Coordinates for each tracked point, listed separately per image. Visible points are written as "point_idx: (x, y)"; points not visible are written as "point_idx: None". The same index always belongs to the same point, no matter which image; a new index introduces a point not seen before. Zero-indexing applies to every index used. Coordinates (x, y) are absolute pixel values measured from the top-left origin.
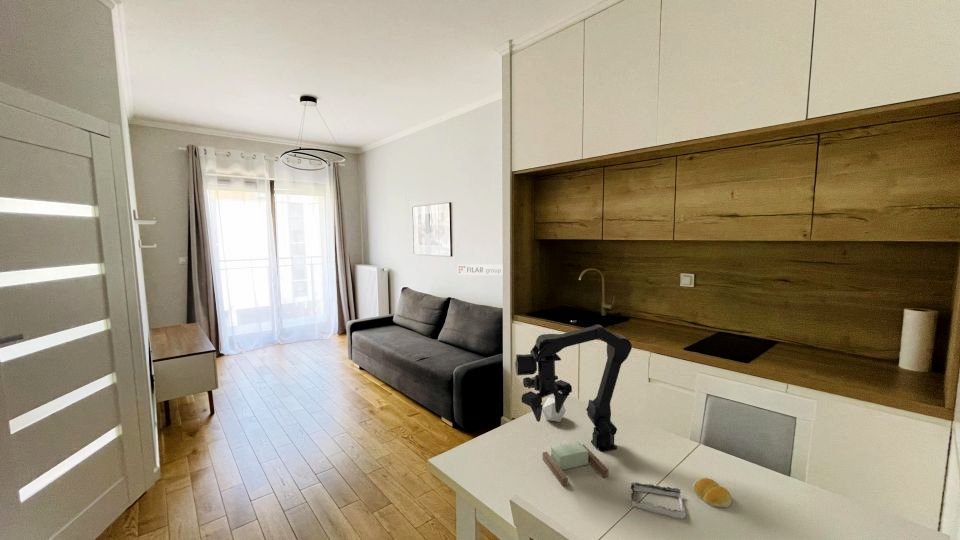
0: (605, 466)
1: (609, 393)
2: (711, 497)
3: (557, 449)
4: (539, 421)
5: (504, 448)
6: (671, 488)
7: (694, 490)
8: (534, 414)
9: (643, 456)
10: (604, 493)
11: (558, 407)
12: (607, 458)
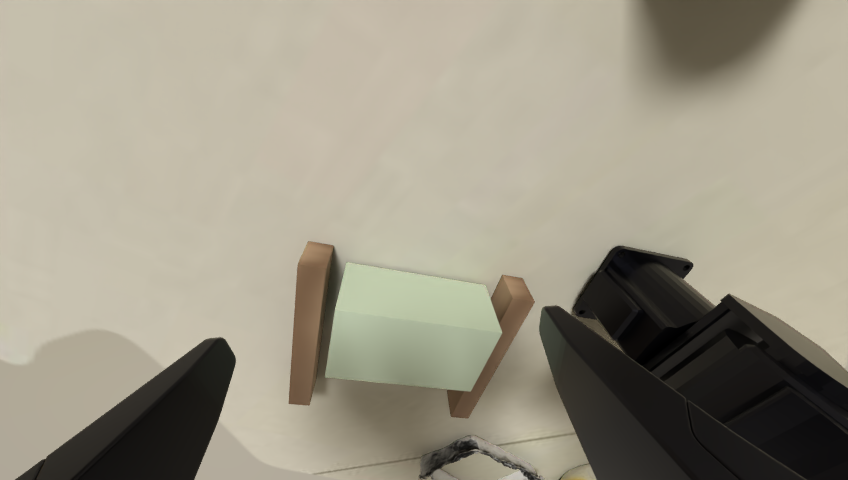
0: (471, 410)
1: None
2: None
3: (350, 339)
4: (228, 368)
5: (92, 10)
6: (534, 475)
7: (571, 478)
8: (105, 425)
9: None
10: (395, 421)
11: (572, 407)
12: None
